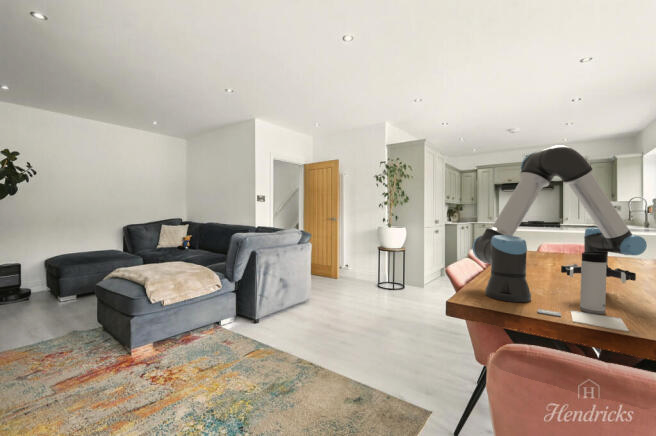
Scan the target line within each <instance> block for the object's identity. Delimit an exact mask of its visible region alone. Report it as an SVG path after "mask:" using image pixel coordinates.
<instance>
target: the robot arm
mask: <svg viewBox="0 0 656 436" xmlns="http://www.w3.org/2000/svg"><path fill="white" fill-rule="evenodd" d="M520 169H521V171H520V172H519V175H518V176H519V178H520V180H519V182H518V183H517V185H516V186H515V189H514V190H513V192H512V193H511V195H510V196H509V198H508V200H507V202H506V204H505V205H504V207H503V209H502V210H501V212H500V213H499V215H498V216H497V218H496V220H495V222H494V224H492V226H490V227H486V228H485V231H484V232H483V234H482V235H479V236H478V237H476V238H475V239H474V241H473V243H472V247H471V248H472V252H473V255H474V257H476V258H477V259H478V260H479V261H481V262H483V263H484V264H489V265H490V276H489V279H488V281H487V282H488V283H487V285H486V287H485V292H484V293H485V295H486V296H487V297H488V298H491V299H494V300H499V301H503V302H511V303H528V302H531V301H532V293H531V291H530V288H529V284H528V281H527V251H528V248H527V241H526V239H524V238H522V237H519V236H515V233H516V232H517V230H518V228H519V227H520V225H521V223H522V222H523V221H524V218H525V217H526V215H527V213H528V212H529V211H530V209H531V207H532V206H533V203H534V202H535V201H536V198H537V197H538V196H539V194H540V192H541V190H542V189H543V188H546V187H549V185H550V184H551V182H552V181H553V179H554V177H556V176H557V177H558V178H559V179H561V181H562V182H563V183H564V184H568V186H569V188H570V189H571V190H572V191H573V193H574V195H575V196H576V197H577V199H578V200H579V202H580V203H581V204H582V206H583V208H584V209H585V211H586V212H587V213H588V215H589V216H590V219H591V220H592V221H593V223H594V224H595V226H596V227H587V228H585V230H584V236H583V237H584V238H583V239H584V241H583V242H584V243H583V244H584V251H583V253H584V252H601V251H605V252H608V254H607V257H606V262H607V264H606V265H607V266H606V278H611V277H612V278H616V279H620V282H621V283H622V284H626V282H627V281H633V282H634V281H636V278H637V274H636V273H635V272H633V271H629V270H624V269H621V268H618V267H616V268H614V269H612V268H611V267H610V266H609V265H608V261H609V259H608V258H609V257H608V256H609V253H612V254H613V253H614V254H619V255H624V256H639V255H642V254H644V252H645V251H646V250H647V247H648V246H647V241H646V239H645V237H642V236H640V235H636V234H633V233H632V232H631V230H630V228H629V227H628V226H627V224H626V223H625V221H624V220H623V219H622V217H621V216H620V214H619V212H618V211H617V209H616V208H615V206H614V205H613V203H612V202H611V200H610V199H609V197H608V196H607V194H606V193H605V191H604V190H603V188H602V187H601V186H600V184H599V183H598V181H597V180H596V178H595V176H594V174H592V173H593V171H594V169H593V168H592V166H591V165H590V163H589V162H588V160H587V159H586V158H585V157H584V156H583V155H582V154H581V153H580V152H578V151H577V150H576V149H574V148H572V147H569V146H567V145H566V146H565V145H554V146H551V147H549V148H545V149H542V150H537V151H534V152H532V153H531V154H528V155H527V156H525V158H523V160H522V162H521V164H520ZM560 272H561V273H562V274H564V273H565V274H566V276H569V277H570V278H573V277H574V274H581V266H579V265H578V264H576V263H573V264H569V265H561V269H560Z"/></svg>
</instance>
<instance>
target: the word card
mask: <svg viewBox="0 0 656 436" xmlns="http://www.w3.org/2000/svg"><path fill="white" fill-rule="evenodd" d="M537 314H541V315H545V316H551V317H552V316H553V317H558V318H561V317H562V314H561V311H560V312H559V311H554V310H547V309H540V308H537Z"/></svg>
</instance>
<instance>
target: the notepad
mask: <svg viewBox="0 0 656 436" xmlns="http://www.w3.org/2000/svg"><path fill="white" fill-rule="evenodd" d="M570 313H571V320H572V322H573V323H578V324H583V325H589V326H596V327H601V328H604V329H605V328H606V329H612V330H616V331H624V332H629V331H630V330H629V328H628V327H627V325H626V324H625V322H624V321H623V319H622V318H621V317H615V316H608V315H603V314H593V313H588V312H584V311H577V310H570Z"/></svg>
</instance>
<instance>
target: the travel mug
mask: <svg viewBox="0 0 656 436" xmlns="http://www.w3.org/2000/svg"><path fill="white" fill-rule="evenodd" d="M607 254H608V255H609V252H605V251H601V252H584V251H583V252H581V261H580V262H581V264H580V265H581V273H580V302H579V303H580V305H579V309H580V311H581V312H584V313H590V314H596V315H604V314H606V302H607V301H606V296H607V277H606V266H607V265H606V264H607V262H606V257H607Z"/></svg>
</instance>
